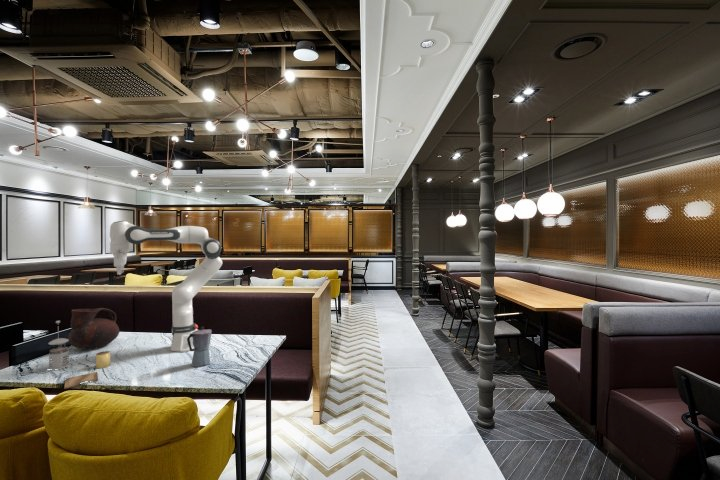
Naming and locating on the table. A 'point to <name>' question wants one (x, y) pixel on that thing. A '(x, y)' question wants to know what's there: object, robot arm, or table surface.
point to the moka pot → (200, 346)
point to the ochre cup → (102, 359)
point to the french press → (59, 354)
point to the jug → (92, 329)
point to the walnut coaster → (80, 379)
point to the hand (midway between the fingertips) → (120, 273)
